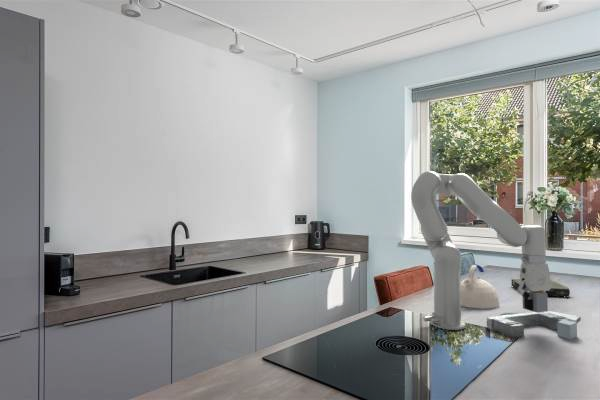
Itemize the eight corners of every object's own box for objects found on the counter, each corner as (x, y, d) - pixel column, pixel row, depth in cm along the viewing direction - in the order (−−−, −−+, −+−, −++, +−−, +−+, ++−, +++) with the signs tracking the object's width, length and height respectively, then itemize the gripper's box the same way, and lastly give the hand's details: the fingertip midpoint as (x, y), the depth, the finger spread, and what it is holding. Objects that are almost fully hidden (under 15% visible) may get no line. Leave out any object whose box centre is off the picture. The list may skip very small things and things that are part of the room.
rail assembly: (511, 337, 135) (511, 325, 135) (486, 327, 146) (486, 316, 146) (572, 329, 143) (571, 318, 143) (544, 320, 154) (544, 310, 154)
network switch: (550, 288, 214) (550, 279, 214) (576, 298, 191) (576, 288, 191) (506, 287, 216) (506, 278, 217) (526, 297, 193) (526, 287, 193)
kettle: (444, 303, 181) (444, 265, 181) (461, 295, 196) (461, 260, 197) (491, 311, 167) (490, 270, 168) (505, 302, 183) (504, 264, 183)
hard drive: (580, 316, 157) (545, 309, 166) (576, 320, 151) (539, 313, 160) (580, 320, 157) (545, 313, 166) (576, 324, 151) (539, 317, 160)
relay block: (570, 339, 133) (570, 324, 133) (557, 336, 137) (557, 321, 137) (577, 336, 136) (576, 322, 136) (564, 333, 139) (564, 319, 140)
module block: (536, 312, 139) (536, 293, 139) (522, 308, 144) (522, 290, 144) (547, 311, 140) (547, 292, 140) (533, 307, 146) (532, 289, 146)
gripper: (524, 262, 136) (525, 313, 136) (560, 259, 141) (562, 309, 141) (506, 259, 144) (508, 308, 143) (542, 256, 149) (543, 304, 148)
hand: (534, 308), depth 142 cm, fingers closed on module block, 5 cm apart
